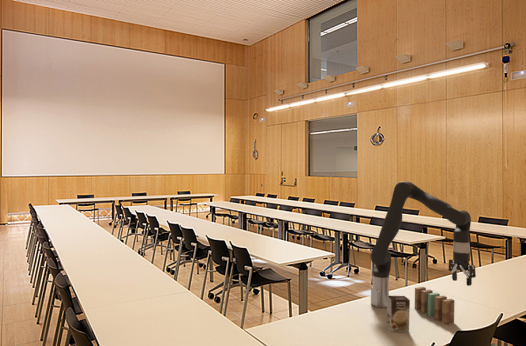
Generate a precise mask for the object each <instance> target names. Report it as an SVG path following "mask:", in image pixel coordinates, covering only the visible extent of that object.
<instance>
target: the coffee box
mask: <svg viewBox="0 0 526 346" xmlns="http://www.w3.org/2000/svg"><path fill="white" fill-rule="evenodd" d="M410 305H411V300H410V298H408V297H406V295H389V296H388V298H387V307H386V328H387V329H388V330H389V332H391V333H409V332H410V312H411V311H410V308H411V307H410Z"/></svg>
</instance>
